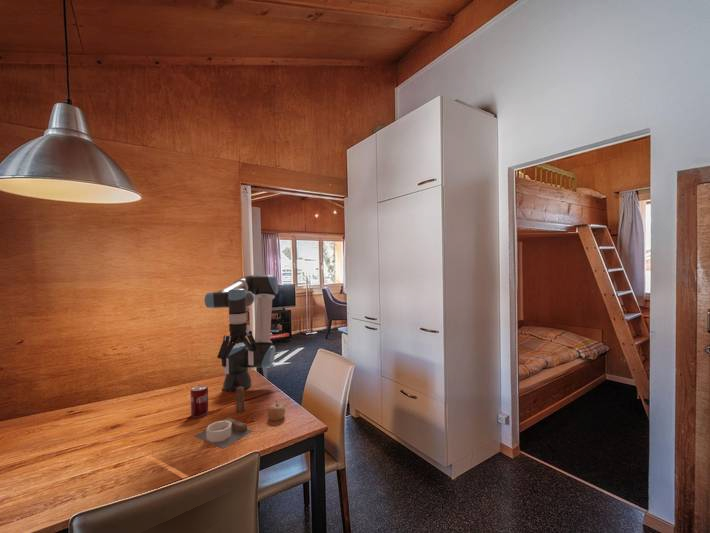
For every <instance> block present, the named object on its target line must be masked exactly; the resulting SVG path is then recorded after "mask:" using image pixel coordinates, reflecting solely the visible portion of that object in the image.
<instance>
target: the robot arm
mask: <svg viewBox="0 0 710 533" xmlns="http://www.w3.org/2000/svg"><path fill="white" fill-rule="evenodd" d="M278 282H279V281H278V279H277V277H276V276H275V275H274V274H259V275H258V274H256V275H254V274H251V275H247V276H244V277H243V276H242V277H240V278H238V279H236V280H234V281H233V282H232V284H229V285H228V286H226V287H224V288H221V289H219V290H218V291H216V292H214V291H212V292H207V293H205V295H204V305H205V307H206V308H207V309H209V308H210V309H218V308H221V309H223V308H228V323H229V324H228V329H229V330H228V332H229V335H224V336H223V338H222V340H223V341H222V343H221V344H220V345H221V346H220V348H219V351H218V354H217V357H216V358H217V359H220V360H221V367H222V368H223V374H225V376H224V381H223V384H222V389H223V391H227V392H236V388H237V387H240V386H241V387H244V390H246V389H248V388H250V387H251V386H252V378H251V375H250V374H249V368H250V369H251V368H270V367H271V366H272V365H273V363H274V360H275V355H276V346H275V345H273V342H272V340H271V329H272V328H271V326H272V312H273V310H272V309H273V300H274V299H275V298H276V295H277V294H278V293H279V283H278ZM255 298H256V299H257V303H256V304H257V305H256V313H255V315H256V317H255V326H254V327H255V329H254V335H253V332H252V330H248V329H247V328H248V327H247V324H248V323H247V307H249V306H251V305H252V304H254V302H255Z"/></svg>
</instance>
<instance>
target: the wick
mask: <svg viewBox="0 0 710 533" xmlns="http://www.w3.org/2000/svg"><path fill="white" fill-rule="evenodd" d="M224 420H227V421H230V422H232V429H233V430H236V431H238V432H241V433H242V432H244V431H246V430H247V429H248V424H247V423H245V422H242V421H241V420H237V419H234V418H231V417H228V416H227V417H225V418H223V419H222V421H224Z"/></svg>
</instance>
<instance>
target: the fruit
mask: <svg viewBox="0 0 710 533" xmlns="http://www.w3.org/2000/svg"><path fill="white" fill-rule="evenodd" d="M285 414H286V408H285V406H284V405H283V404H282V403H279V402H278V401H277V400H276V401H275V403H273V404H271V405H270V406H269V407H268V410H267V416H268V419H269V420H270V421H272V422H278V421H281V420H282V419H283V418H284V417H285Z"/></svg>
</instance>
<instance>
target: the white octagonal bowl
mask: <svg viewBox="0 0 710 533" xmlns="http://www.w3.org/2000/svg"><path fill="white" fill-rule="evenodd" d="M205 430H206V440H208V441H210V442H219V441H223V440H225V439H227V438H229V437H231V434H232V422H230V421H227V420H224V421H223V420H219V421H218V420H217V421H214V422H212V423H210V424H208V425H207V426H206V429H205Z"/></svg>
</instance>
